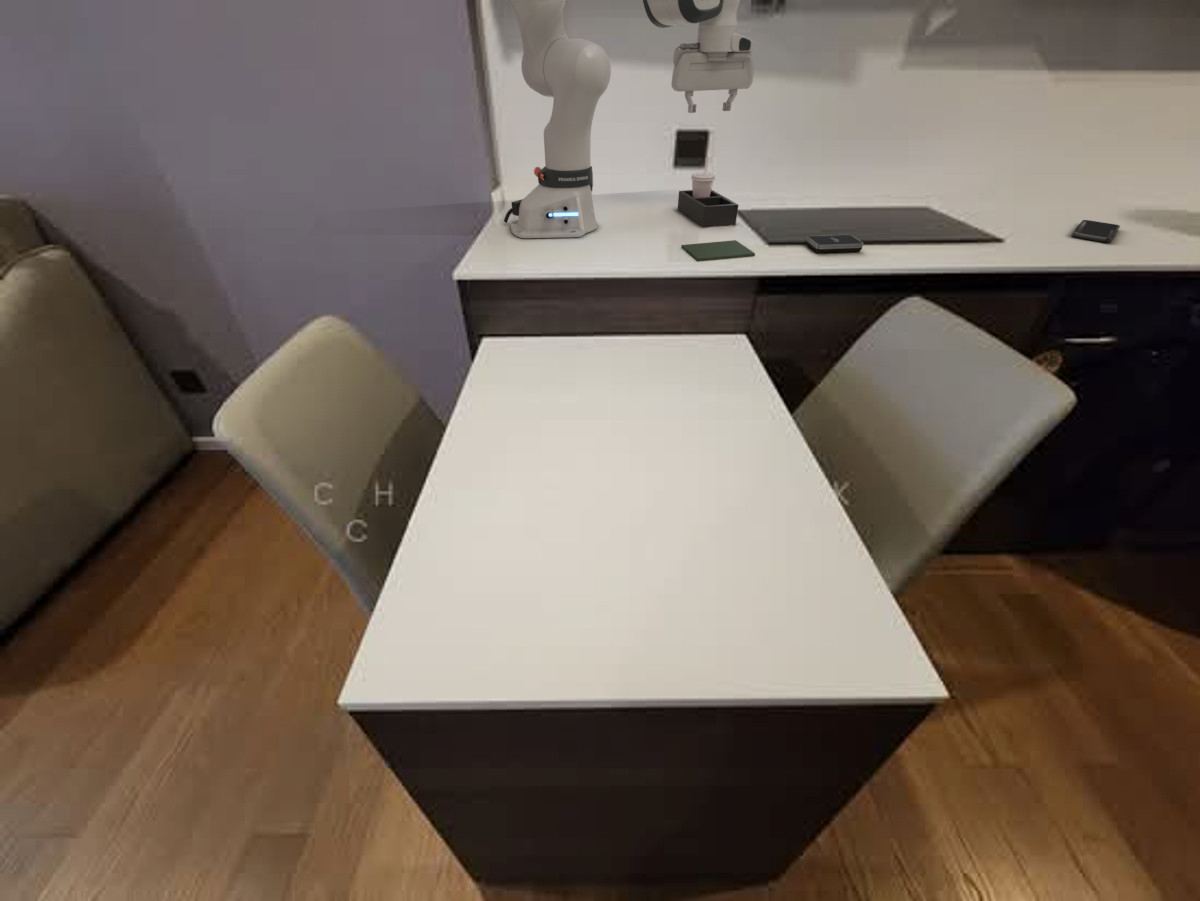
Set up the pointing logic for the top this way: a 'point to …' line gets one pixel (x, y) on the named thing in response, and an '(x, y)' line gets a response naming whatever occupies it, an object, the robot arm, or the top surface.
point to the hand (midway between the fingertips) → (709, 111)
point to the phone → (1096, 231)
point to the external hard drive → (834, 243)
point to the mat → (717, 250)
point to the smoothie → (702, 183)
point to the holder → (708, 209)
